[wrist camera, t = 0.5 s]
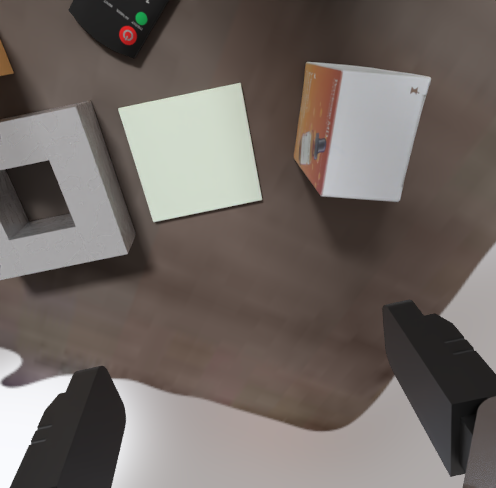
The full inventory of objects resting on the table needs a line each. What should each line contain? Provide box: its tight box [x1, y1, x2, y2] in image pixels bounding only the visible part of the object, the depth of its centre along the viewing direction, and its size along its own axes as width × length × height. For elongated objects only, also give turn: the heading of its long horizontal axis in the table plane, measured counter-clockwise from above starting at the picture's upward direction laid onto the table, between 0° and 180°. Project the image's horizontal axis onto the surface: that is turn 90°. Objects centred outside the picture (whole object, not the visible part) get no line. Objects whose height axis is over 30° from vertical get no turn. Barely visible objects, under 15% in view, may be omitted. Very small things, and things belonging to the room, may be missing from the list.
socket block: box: [0, 100, 136, 280], centre depth 34 cm, size 12×12×4 cm
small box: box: [294, 62, 431, 202], centre depth 30 cm, size 8×6×10 cm
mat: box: [118, 83, 262, 222], centre depth 36 cm, size 10×10×1 cm
